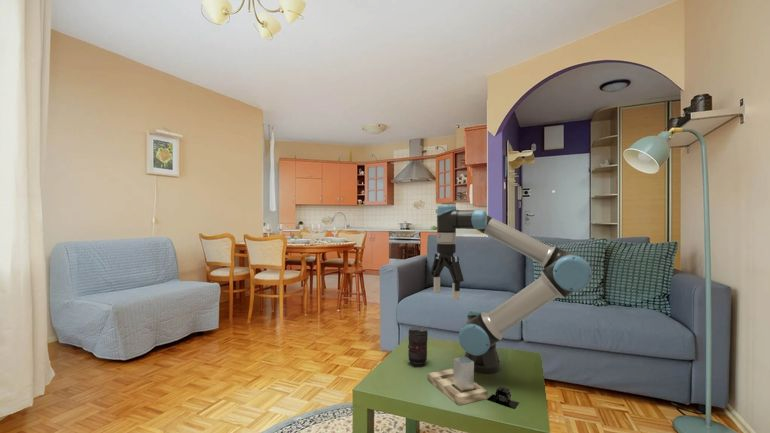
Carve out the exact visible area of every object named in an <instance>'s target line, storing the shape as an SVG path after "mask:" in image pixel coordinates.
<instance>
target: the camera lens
mask: <svg viewBox="0 0 770 433" xmlns="http://www.w3.org/2000/svg"><path fill="white" fill-rule="evenodd" d="M428 334H429V333H428V329H427V327H425V326H419V325H416V326H415V325H413V326H410V327H409V329H408V345H407V346H408V347H407V348H408V354H407V355H408V361H409V365H410V366H412V367H416V368H417V367H418V368H419V367H425V365H426V363H427V360H428V358H427V357H428Z"/></svg>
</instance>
